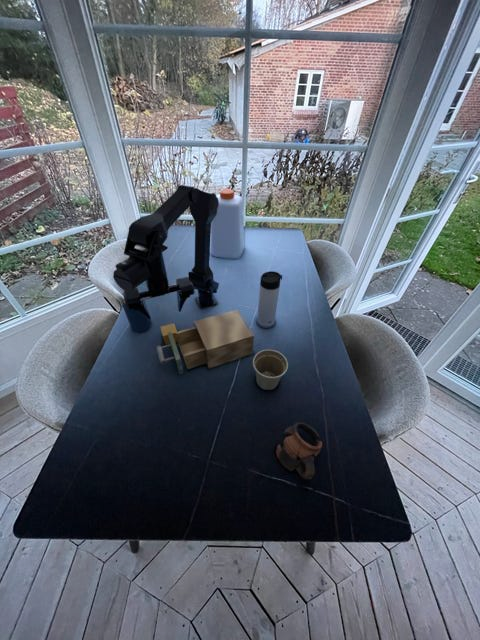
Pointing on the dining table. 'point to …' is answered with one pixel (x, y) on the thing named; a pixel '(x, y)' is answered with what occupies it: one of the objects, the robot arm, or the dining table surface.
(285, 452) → the pottery mug
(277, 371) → the flower pot
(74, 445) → the dining table surface
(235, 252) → the plastic bottle
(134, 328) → the soda can
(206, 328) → the cabinet
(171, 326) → the block
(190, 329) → the drawer
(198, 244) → the robot arm
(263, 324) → the travel mug
